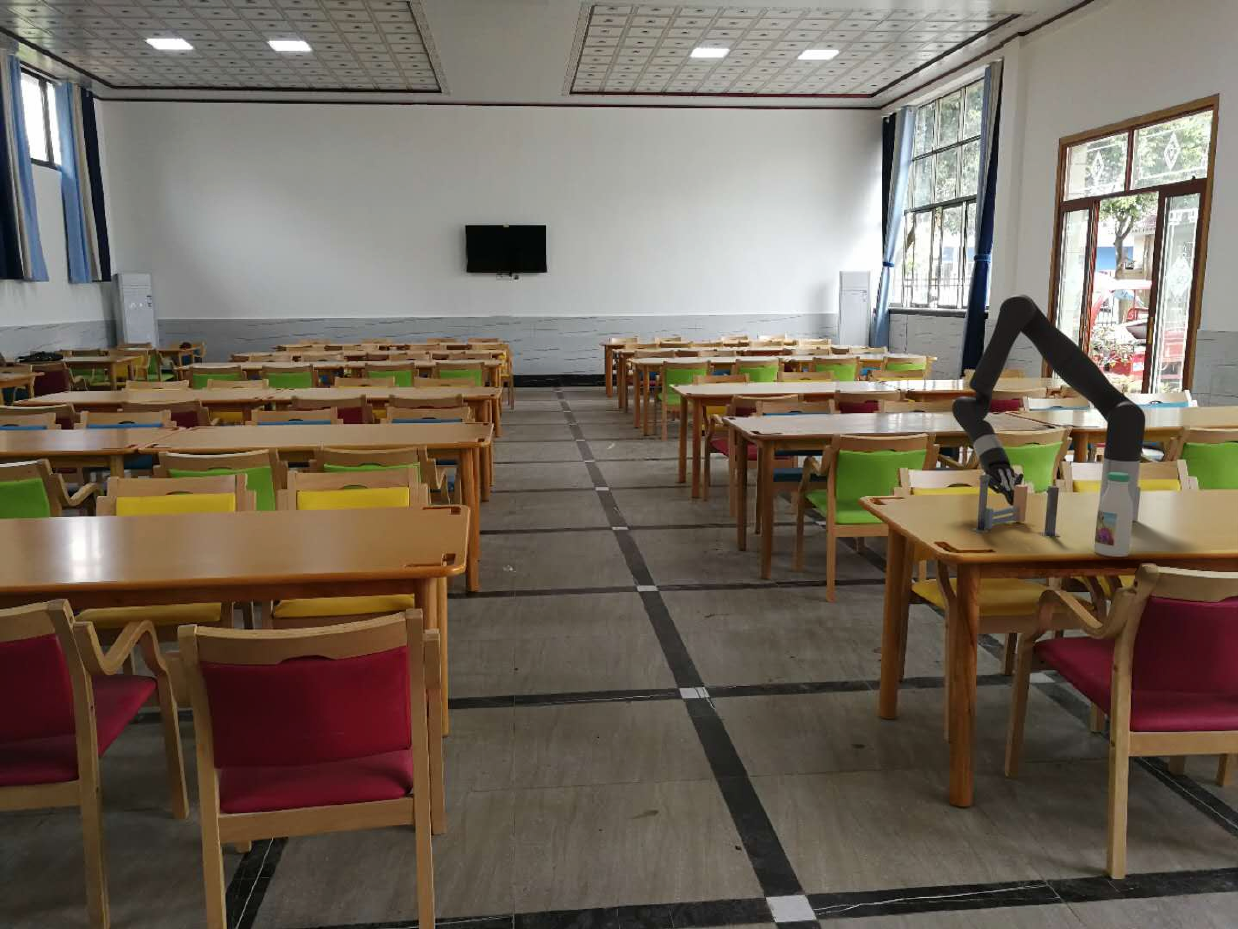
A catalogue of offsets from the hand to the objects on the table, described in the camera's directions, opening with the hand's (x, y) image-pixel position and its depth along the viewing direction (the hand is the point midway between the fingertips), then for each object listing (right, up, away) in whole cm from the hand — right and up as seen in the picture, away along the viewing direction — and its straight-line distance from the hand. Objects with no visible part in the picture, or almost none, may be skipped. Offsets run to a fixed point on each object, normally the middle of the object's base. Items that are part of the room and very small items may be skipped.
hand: (1014, 504), depth 266 cm
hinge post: (-14, -7, -11) cm, 19 cm away
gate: (-5, -5, -5) cm, 9 cm away
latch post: (+3, -8, -15) cm, 17 cm away
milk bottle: (+10, -11, -33) cm, 36 cm away
